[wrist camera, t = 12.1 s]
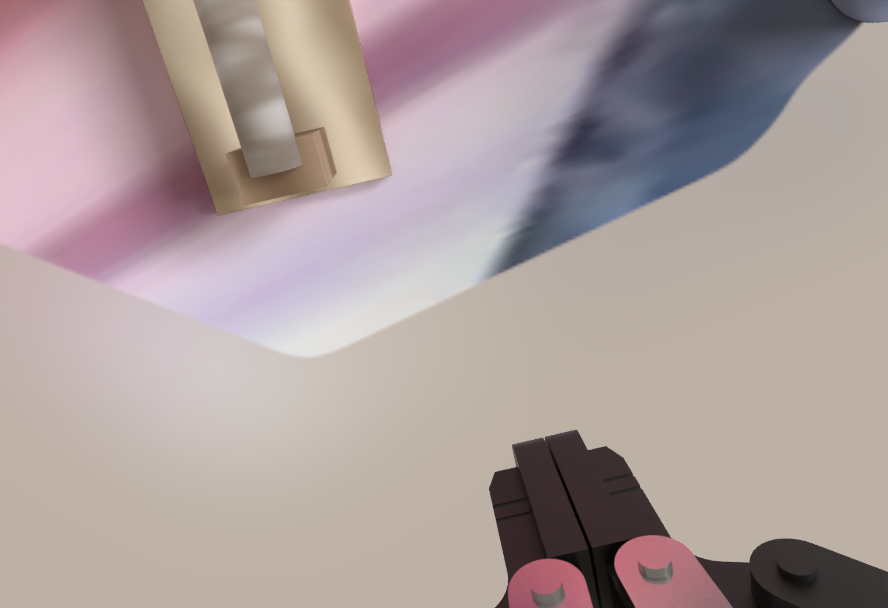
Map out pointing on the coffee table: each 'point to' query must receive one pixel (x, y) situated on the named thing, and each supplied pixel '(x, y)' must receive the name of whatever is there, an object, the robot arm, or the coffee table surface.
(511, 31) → the coffee table surface
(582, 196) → the coffee table surface
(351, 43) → the pipe stand
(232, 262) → the coffee table surface
